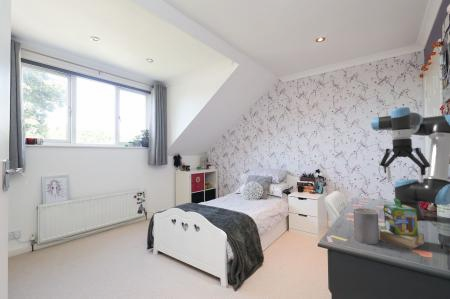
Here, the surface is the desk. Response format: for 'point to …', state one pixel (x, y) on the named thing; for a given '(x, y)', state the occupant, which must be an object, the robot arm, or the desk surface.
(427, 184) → the robot arm
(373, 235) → the pillar candle
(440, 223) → the desk surface
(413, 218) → the chalk box
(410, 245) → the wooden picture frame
